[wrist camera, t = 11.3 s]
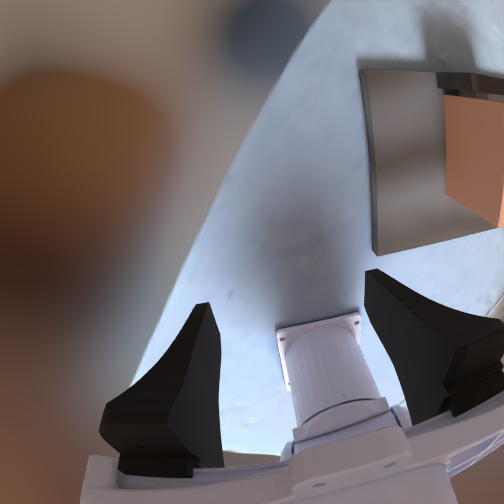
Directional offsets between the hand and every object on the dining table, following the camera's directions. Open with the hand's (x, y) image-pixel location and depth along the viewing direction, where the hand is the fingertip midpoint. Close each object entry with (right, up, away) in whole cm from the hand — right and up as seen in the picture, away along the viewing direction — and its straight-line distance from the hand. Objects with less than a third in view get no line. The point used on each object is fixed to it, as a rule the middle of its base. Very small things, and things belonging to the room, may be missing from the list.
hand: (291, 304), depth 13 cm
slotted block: (+15, +11, +5) cm, 19 cm away
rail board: (+16, +10, +6) cm, 20 cm away
